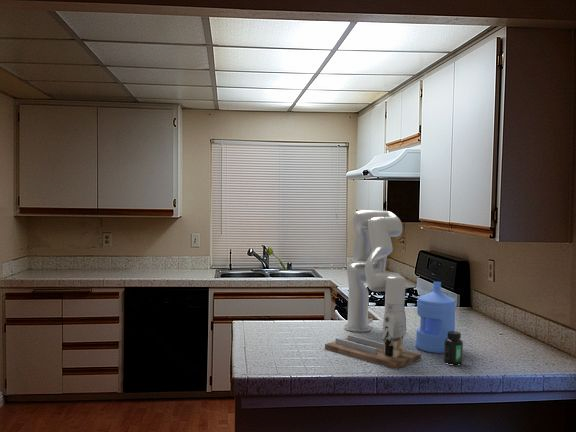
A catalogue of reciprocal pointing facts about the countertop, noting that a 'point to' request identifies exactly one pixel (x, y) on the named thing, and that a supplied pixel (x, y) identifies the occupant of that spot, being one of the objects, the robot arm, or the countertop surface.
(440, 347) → the water jug
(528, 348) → the countertop surface
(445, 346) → the supplement bottle
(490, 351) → the countertop surface
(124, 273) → the countertop surface
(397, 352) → the block
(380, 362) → the deck
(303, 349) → the countertop surface
